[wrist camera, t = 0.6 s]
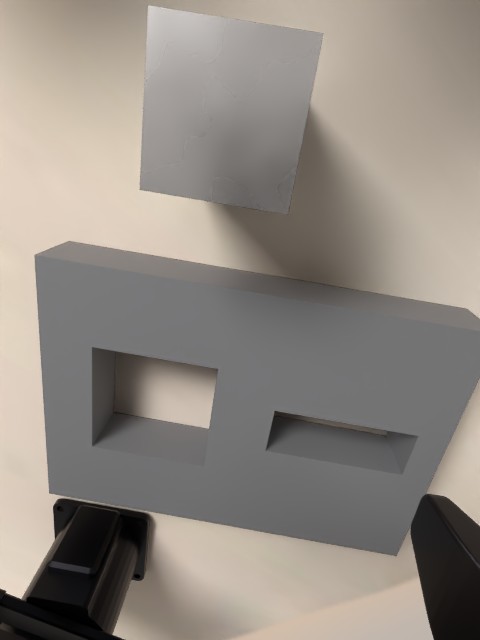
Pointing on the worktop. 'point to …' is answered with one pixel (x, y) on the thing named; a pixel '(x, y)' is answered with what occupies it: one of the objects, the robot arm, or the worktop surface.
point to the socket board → (251, 394)
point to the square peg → (225, 108)
